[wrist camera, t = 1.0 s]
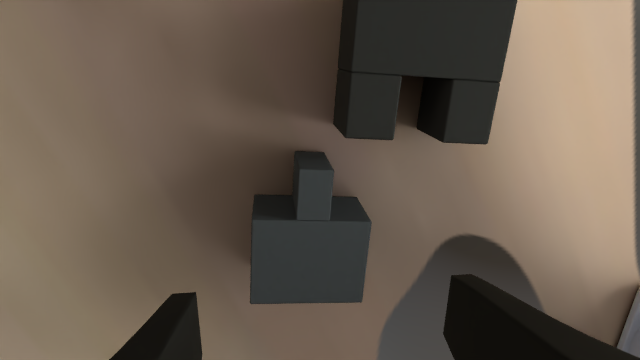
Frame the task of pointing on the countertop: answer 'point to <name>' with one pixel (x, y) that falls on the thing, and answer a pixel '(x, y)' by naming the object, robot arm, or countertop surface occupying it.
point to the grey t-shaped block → (308, 240)
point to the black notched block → (422, 65)
